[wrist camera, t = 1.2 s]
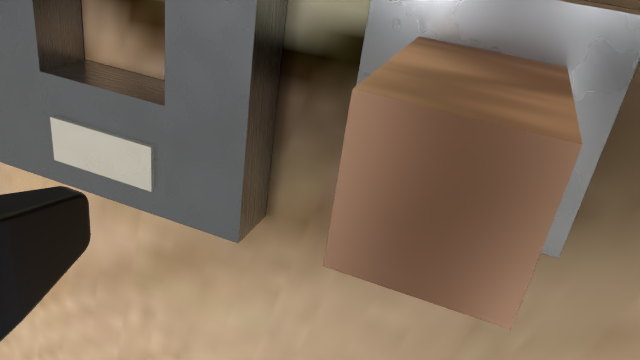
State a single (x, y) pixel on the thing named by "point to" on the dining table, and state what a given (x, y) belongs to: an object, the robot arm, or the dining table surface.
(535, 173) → the peg
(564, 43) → the tray
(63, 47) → the plate
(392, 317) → the dining table surface
